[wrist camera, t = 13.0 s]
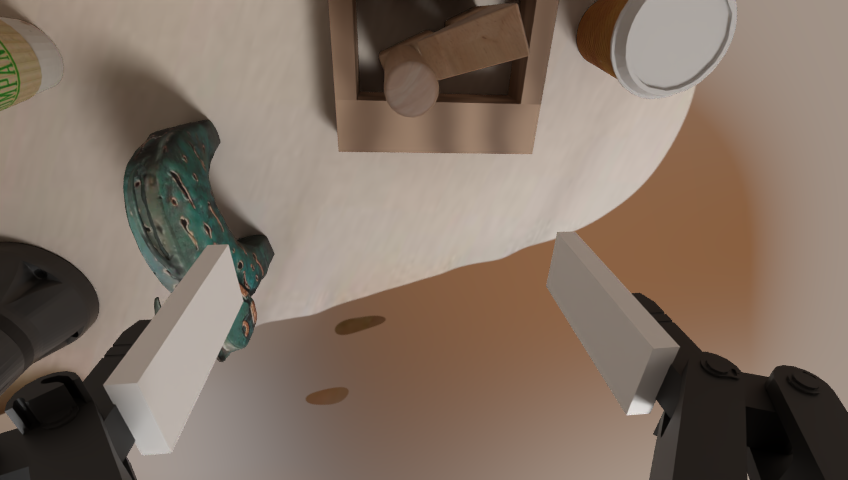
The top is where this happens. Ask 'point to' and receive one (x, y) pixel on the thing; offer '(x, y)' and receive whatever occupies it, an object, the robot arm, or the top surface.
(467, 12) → the wooden post with wedge
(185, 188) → the teal animal figurine
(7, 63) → the coffee cup
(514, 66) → the walnut slotted base
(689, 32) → the disposable coffee cup
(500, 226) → the top surface
